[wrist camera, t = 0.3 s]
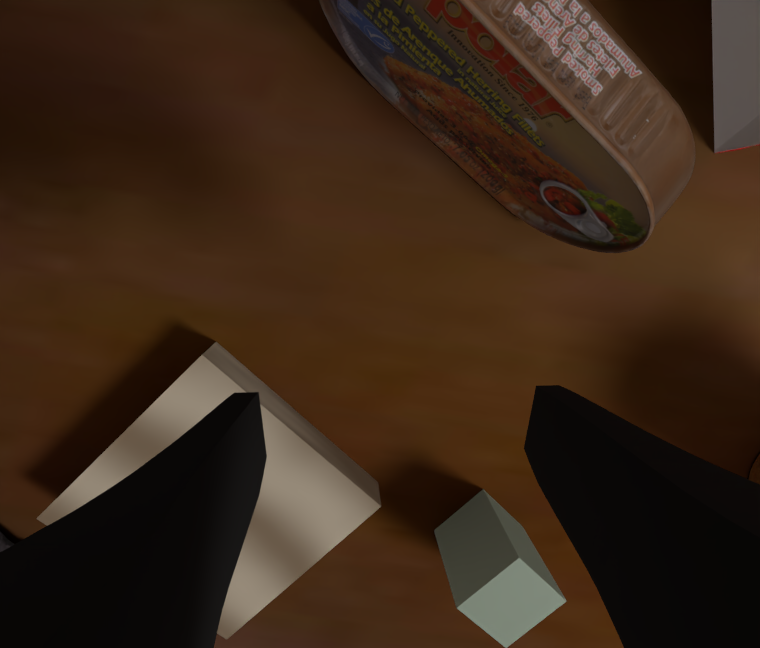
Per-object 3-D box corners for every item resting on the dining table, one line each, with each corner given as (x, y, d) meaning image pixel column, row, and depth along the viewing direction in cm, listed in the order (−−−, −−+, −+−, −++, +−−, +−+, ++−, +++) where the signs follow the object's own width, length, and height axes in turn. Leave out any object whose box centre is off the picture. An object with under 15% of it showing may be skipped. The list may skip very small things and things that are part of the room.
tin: (313, 34, 17) (284, -146, 9) (358, -32, 16) (372, -286, 8) (551, 252, 20) (692, 272, 12) (594, 203, 20) (770, 188, 11)
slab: (238, 598, 24) (226, 639, 22) (71, 485, 21) (36, 518, 19) (377, 476, 23) (381, 506, 21) (219, 338, 20) (202, 354, 18)
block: (474, 565, 25) (506, 648, 20) (433, 529, 24) (456, 607, 19) (522, 526, 24) (566, 601, 19) (483, 488, 23) (519, 557, 18)
